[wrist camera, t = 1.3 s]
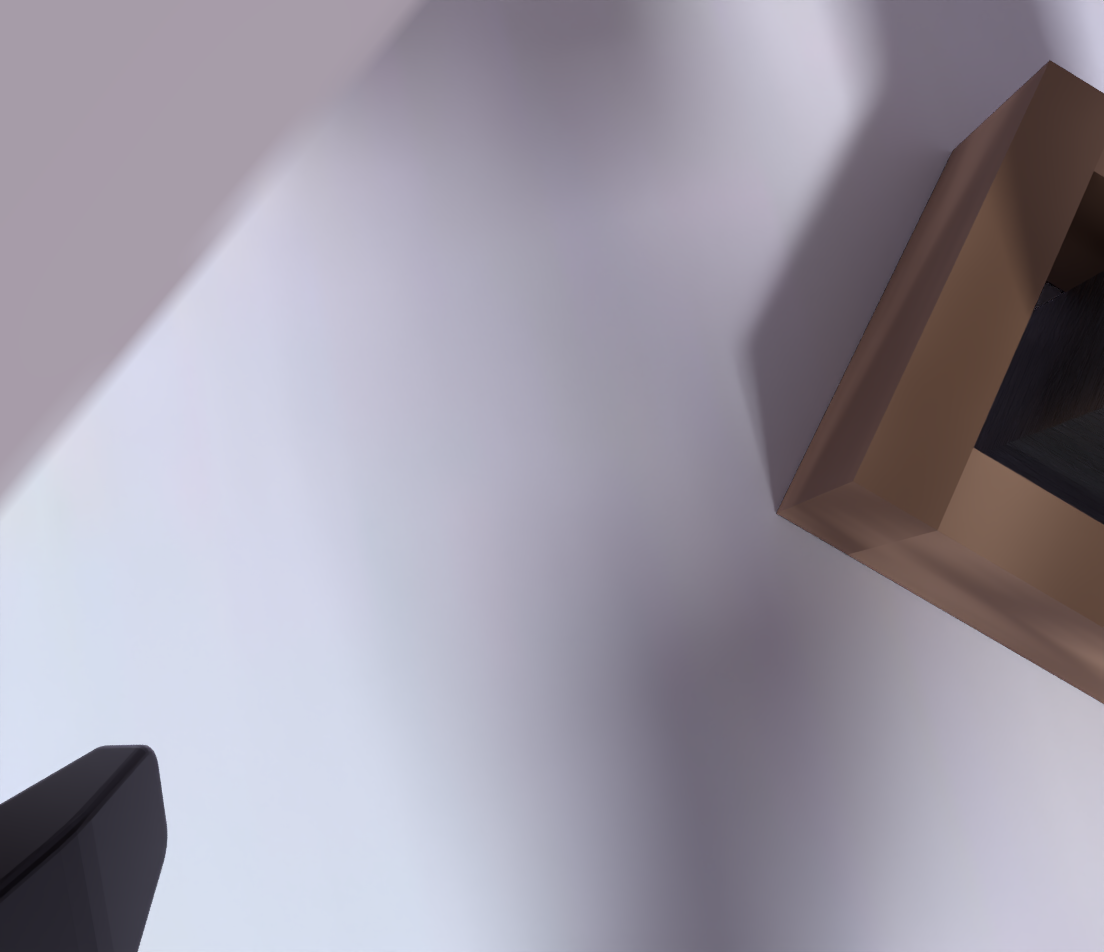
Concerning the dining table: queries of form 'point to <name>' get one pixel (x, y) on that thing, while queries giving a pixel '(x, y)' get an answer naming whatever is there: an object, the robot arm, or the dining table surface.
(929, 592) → the bore block
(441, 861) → the dining table surface
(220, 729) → the dining table surface
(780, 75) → the dining table surface
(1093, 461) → the square axle
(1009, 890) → the dining table surface
